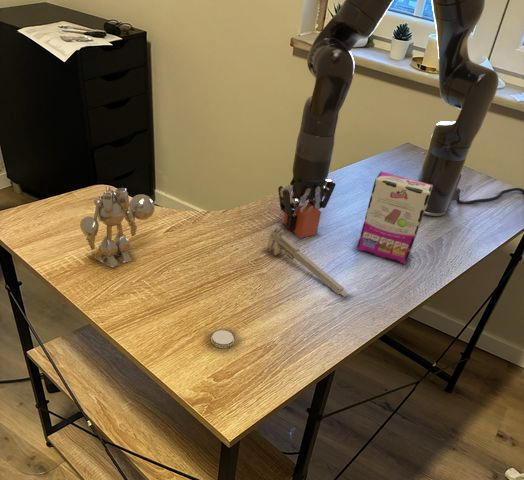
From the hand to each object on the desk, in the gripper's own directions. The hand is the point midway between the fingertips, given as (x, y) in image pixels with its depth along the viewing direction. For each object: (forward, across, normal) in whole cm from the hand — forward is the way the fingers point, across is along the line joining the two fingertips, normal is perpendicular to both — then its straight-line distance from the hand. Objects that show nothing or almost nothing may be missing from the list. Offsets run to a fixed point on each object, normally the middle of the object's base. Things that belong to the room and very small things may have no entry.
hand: (300, 226), depth 119 cm
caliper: (+1, -9, -15) cm, 18 cm away
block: (0, 0, 0) cm, 0 cm away
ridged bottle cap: (+1, -34, -26) cm, 43 cm away
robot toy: (+1, -40, +4) cm, 40 cm away
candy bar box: (+1, +12, -15) cm, 19 cm away
